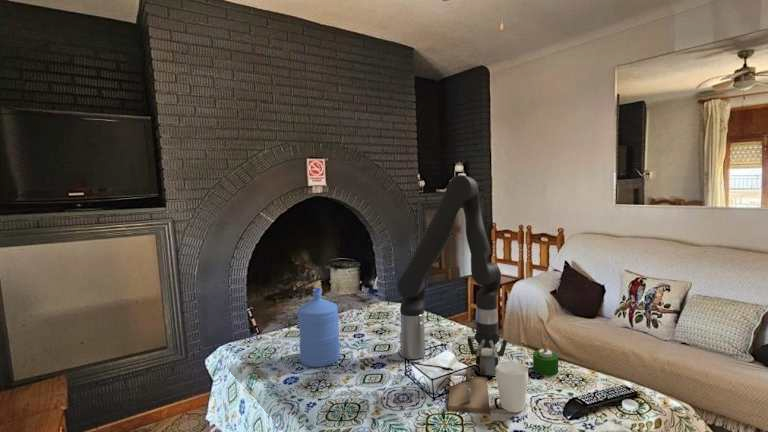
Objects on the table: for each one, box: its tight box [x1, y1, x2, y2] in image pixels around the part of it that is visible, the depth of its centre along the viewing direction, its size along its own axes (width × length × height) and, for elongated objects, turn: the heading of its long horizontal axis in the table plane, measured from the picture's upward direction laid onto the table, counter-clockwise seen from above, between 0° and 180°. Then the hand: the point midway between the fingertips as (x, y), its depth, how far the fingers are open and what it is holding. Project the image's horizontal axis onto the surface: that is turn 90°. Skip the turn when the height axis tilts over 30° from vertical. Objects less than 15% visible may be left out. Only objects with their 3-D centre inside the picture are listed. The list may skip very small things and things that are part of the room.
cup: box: [495, 360, 529, 414], centre depth 115 cm, size 9×9×12 cm
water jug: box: [297, 287, 341, 368], centre depth 151 cm, size 16×16×28 cm
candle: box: [532, 342, 559, 377], centre depth 137 cm, size 8×8×10 cm
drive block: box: [479, 348, 496, 377], centre depth 138 cm, size 5×10×6 cm, turn 168°
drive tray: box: [447, 367, 491, 414], centre depth 123 cm, size 12×19×5 cm, turn 168°
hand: (486, 365), depth 138 cm, fingers closed on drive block, 5 cm apart
